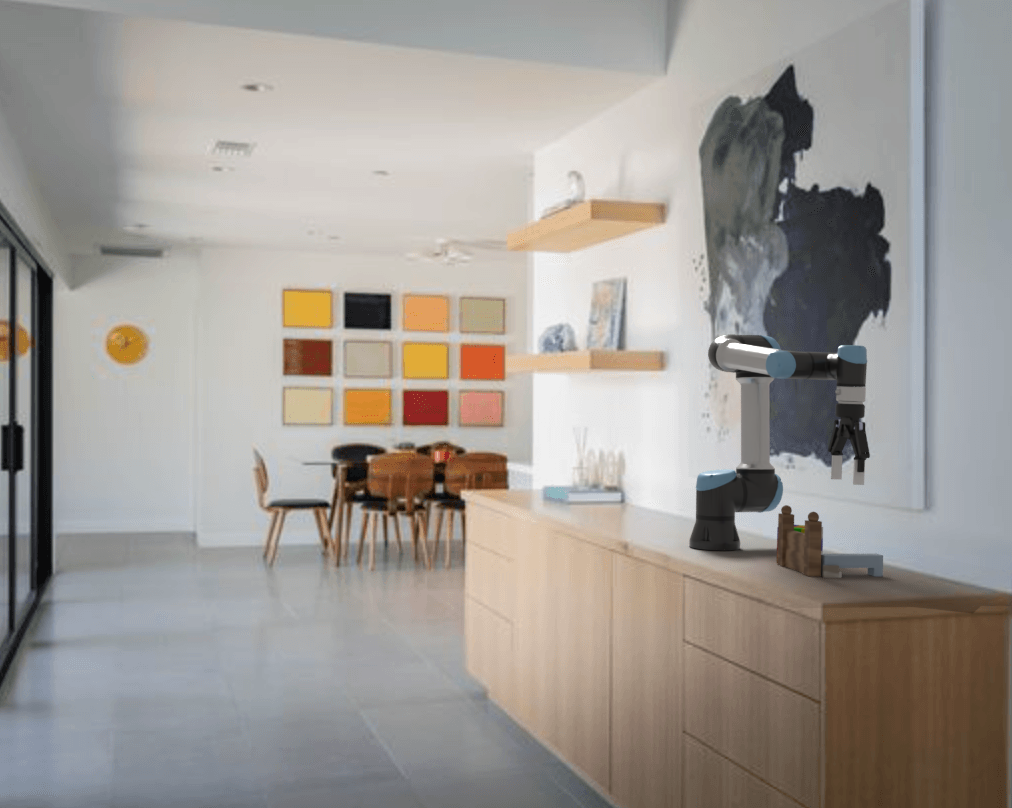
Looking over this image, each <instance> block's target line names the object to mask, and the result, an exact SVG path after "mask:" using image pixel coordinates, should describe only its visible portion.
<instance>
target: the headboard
mask: <svg viewBox="0 0 1012 808" xmlns="http://www.w3.org/2000/svg"><path fill="white" fill-rule="evenodd" d="M780 510H781V511H780V512H781V513H780V512H779V513H778V514H777V515H778V516H777V518H778V519H777V525H778V526H777V527H778V557H777V556H776V564H777V566H779V565H780V566H779V567H785V566H786V568H788V569H791V570H794V571H796V572H799V573H802V574H803V575H805V576H806V577H821V539H822V527H823V525H822V524H823V521H822V520H819V519H820V515H819V513H818V512H816V511H810V512H809V513H808V515H807V519H806V520H804V525H805V533H801V532H798V531H794V525H795V514H793V513H792V511H793V510H792V507H791V506H790V505H783V506H782V507H781V509H780ZM842 573H843V572H842V571H840V568H839V566H838V565H823V576H822V578H825V579H827V578H830V579H833V578H835V579H838V578H842V577H843V575H842Z"/></svg>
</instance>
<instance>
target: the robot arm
mask: <svg viewBox="0 0 1012 808" xmlns="http://www.w3.org/2000/svg"><path fill="white" fill-rule="evenodd" d="M867 351H868V350H867V347H866V346H865V345H855V344H852V345H851V344H849V345H848V344H842V345H839V346H838V348H837V352H829V351H828V352H825V351H820V352H819V351H797V350H796V351H794V350H786V349H785V350H784V349H782V348H781V346H780V344H779V343H778V342H777V340H776V339H775V338H774V337H771V336H770V335H769V336H768V335H761V334H733V333H730V334H724V335H720V336H718V337H716V338H715V339H713V341H712V342H711V343H710V345H709V347H708V351H707V356H708V357H707V358H708V360H709V362H710V365H712V366H713V367H714V368H715V369H716V370H718V371H720V372H724V373H732V374H733V373H735V380H736V381H737V382H738V383H739V385H740V463H739V464H738V465H737V466H736V468H735V470H734V469H732V468H731V469H730V468H729V469H725V468H724V469H713V470H706V471H702V472H701V473H699V474H698V475H697V477H696V485H695V491H696V492H695V522H694V526H693V529H692V531H691V534H690V536H689V541H688V542H689V543H688V544H689V547H690V548H692V549H697V550H705V551H736V550H737V551H738V550H740V549H741V539H740V536H739V533H738V529H737V525H736V513H761V514H762V513H764V512H765V513H766V512H771V511H774V510H775V509H776V508H777V507H778V505H780V503H781V501H782V498H783V495H784V484H783V481H782V479H781V477H780V475H778V474H776V469H775V467H774V465H772V464H771V462H770V461H771V460H770V458H771V457H770V455H771V454H770V452H771V451H770V449H771V448H770V447H771V446H770V445H771V444H770V443H771V442H770V437H771V434H770V384H771V383H772V382H773V381H774V380H775V379H779V380H787V379H789V380H792V379H793V380H794V379H795V380H815V381H816V380H819V381H836V389H835V391H834V392H835V395H836V396H835V398H836V399H835V400H836V401H837V402H838V403H836V404H835V413H834V416H835V417H837V418H840V419H834V422H833V430H832V433H831V437H830V440H829V445H828V449H827V452H828V453H830V455H831V467H830V468H831V471H830V474H831V475H830V479H831V480H842V479H843V478H842V474H843V456H844V453H843V451H844V448H845V447H846V444H847V441H848V440H849V441H850V444H851V447H852V450H853V453H854V457H853V472H852V473H853V474H852V475H853V478H852V484H853V486H854V485H856V486H857V485H858V486H864V485H865V472H866V471H865V464H866V460H868V459H870V458H871V454H870V449H869V443H868V437H867V432H866V422H864V421H860V419H864V418H865V416H866V415H865V413H866V412H865V409H866V405H865V404H863V403H865V402H866V392H867V391H866V390H867V389H866V388H867V387H866V386H867V385H866V384H867V370H868V369H867V366H868V358H867V357H868V356H867V353H868V352H867Z"/></svg>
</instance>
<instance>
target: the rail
mask: <svg viewBox="0 0 1012 808" xmlns="http://www.w3.org/2000/svg"><path fill="white" fill-rule="evenodd" d="M823 565H838V566H839V569H867V575H869V576H872V577H883V576H884V555H883V554H879V553H823V554H821V576H822V577H823ZM821 576H820V577H821Z"/></svg>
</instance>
